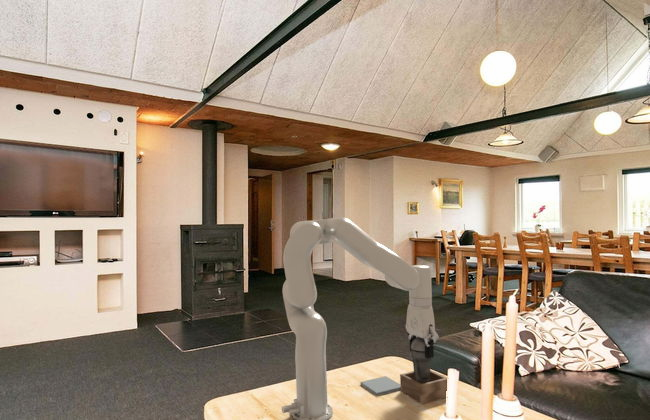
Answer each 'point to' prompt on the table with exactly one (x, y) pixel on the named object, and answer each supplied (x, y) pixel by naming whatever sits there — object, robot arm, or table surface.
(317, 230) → the robot arm
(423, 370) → the beverage cup
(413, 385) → the box
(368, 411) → the table surface
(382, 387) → the rubber mat
